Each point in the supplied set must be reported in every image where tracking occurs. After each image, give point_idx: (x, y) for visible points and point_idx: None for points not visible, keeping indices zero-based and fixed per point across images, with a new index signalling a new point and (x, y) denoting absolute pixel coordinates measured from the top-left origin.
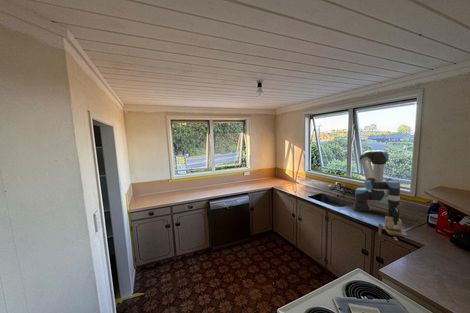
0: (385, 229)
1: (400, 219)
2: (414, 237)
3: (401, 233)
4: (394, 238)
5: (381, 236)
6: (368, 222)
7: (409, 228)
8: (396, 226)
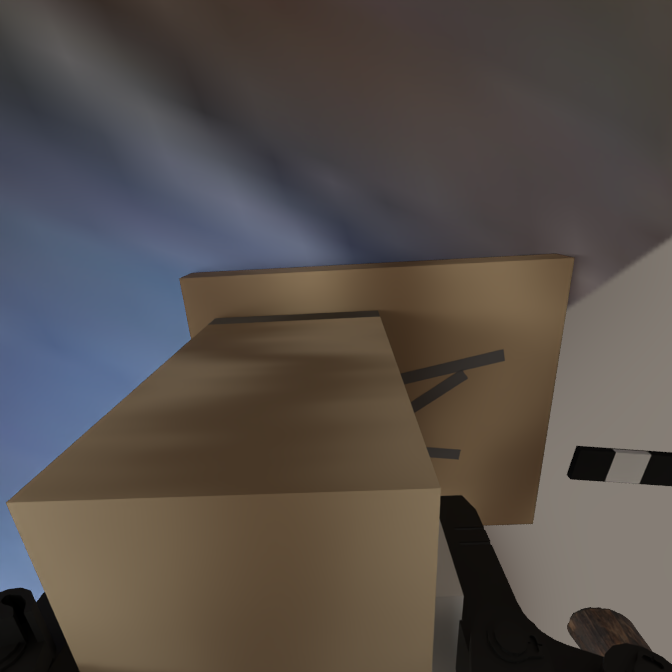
0: None
1: (342, 505)
2: (577, 135)
3: (509, 350)
4: (653, 483)
5: (618, 615)
6: None
7: (66, 26)
8: None
